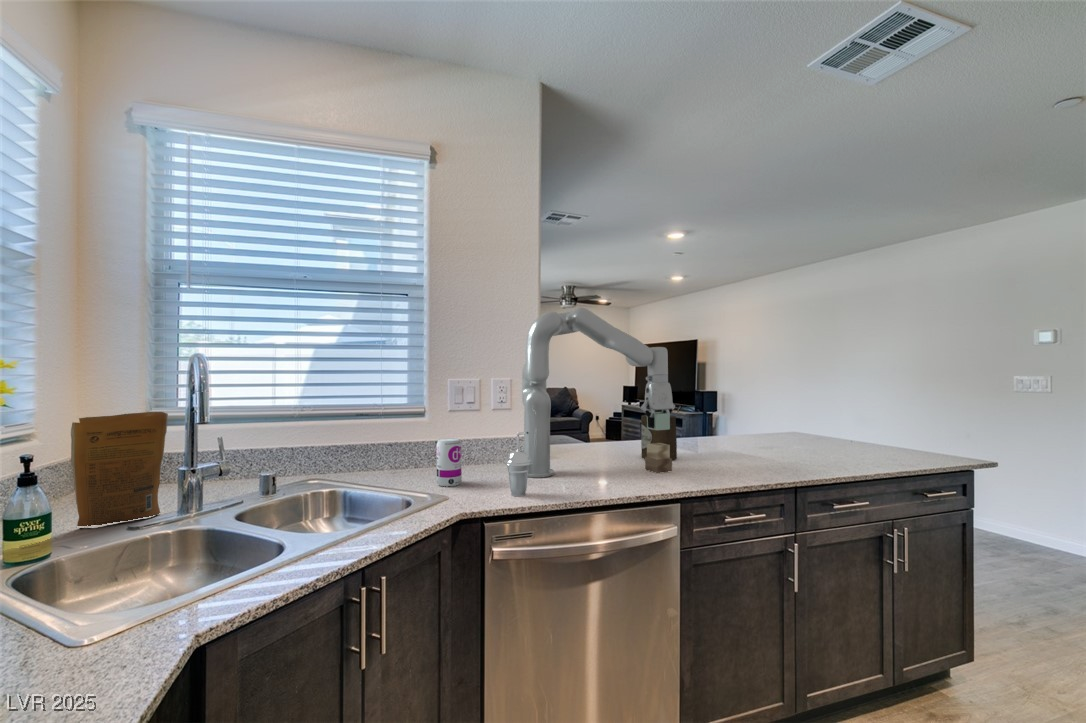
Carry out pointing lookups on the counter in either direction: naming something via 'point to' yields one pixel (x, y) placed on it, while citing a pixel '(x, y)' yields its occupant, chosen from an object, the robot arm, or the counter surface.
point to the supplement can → (449, 462)
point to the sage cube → (660, 421)
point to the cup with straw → (518, 470)
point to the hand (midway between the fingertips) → (658, 426)
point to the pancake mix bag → (117, 466)
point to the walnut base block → (658, 464)
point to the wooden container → (659, 436)
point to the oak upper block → (658, 451)
